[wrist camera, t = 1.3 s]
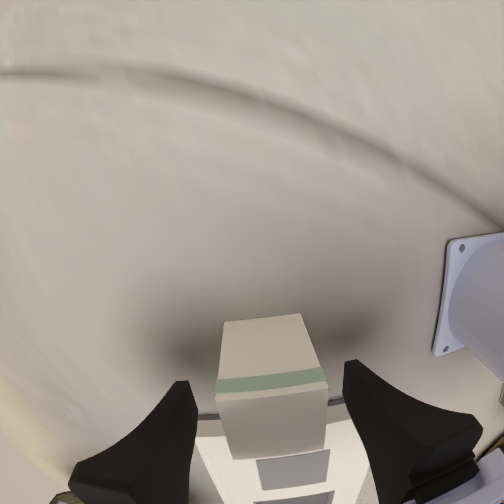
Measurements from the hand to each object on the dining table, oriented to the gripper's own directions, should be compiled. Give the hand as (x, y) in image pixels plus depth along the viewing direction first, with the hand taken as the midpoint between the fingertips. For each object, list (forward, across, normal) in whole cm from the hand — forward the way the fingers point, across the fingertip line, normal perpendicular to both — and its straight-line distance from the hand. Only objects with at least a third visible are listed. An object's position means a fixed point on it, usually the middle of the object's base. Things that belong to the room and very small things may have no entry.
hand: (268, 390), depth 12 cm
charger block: (+3, 0, 0) cm, 4 cm away
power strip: (+3, -1, +18) cm, 18 cm away
